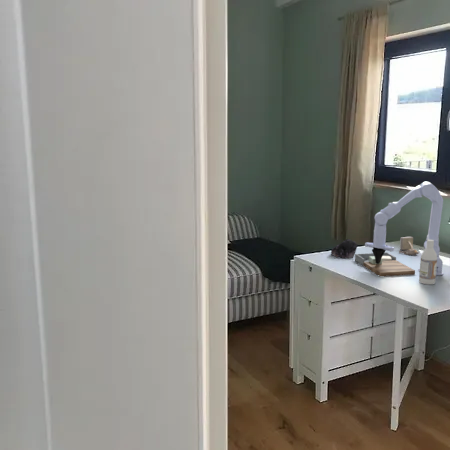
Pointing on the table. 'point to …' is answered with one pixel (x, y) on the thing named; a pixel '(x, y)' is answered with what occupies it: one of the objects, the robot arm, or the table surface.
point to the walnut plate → (389, 268)
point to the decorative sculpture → (407, 246)
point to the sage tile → (373, 260)
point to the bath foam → (428, 264)
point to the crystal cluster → (345, 249)
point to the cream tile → (386, 258)
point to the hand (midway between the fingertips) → (378, 262)
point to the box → (365, 257)
